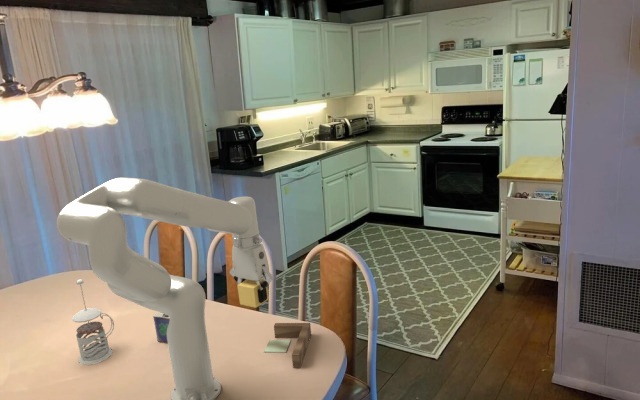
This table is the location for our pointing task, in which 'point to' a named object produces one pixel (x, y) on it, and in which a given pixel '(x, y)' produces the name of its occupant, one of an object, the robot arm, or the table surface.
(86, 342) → the french press
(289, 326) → the brown l-shaped piece
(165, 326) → the purple clover tin
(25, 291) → the table surface
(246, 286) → the cube
